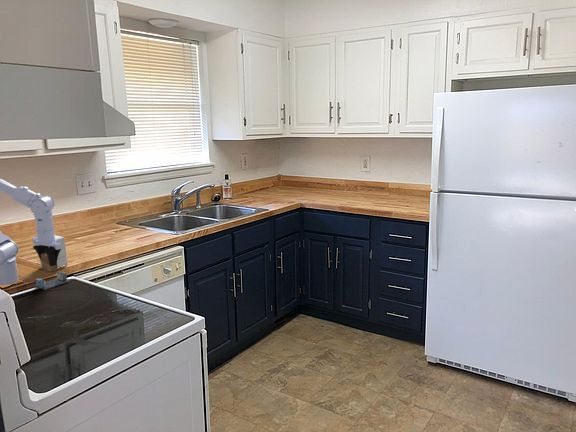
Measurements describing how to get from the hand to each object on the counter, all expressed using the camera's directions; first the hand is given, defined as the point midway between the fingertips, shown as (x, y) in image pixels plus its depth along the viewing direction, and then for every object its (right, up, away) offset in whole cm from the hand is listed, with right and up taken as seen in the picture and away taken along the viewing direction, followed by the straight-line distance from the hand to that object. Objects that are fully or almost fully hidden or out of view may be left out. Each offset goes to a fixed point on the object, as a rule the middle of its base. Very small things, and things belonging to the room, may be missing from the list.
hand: (49, 264), depth 172 cm
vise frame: (0, -8, +2) cm, 8 cm away
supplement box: (-8, -3, +20) cm, 21 cm away
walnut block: (0, -2, +1) cm, 2 cm away
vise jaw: (-2, -8, -1) cm, 9 cm away
